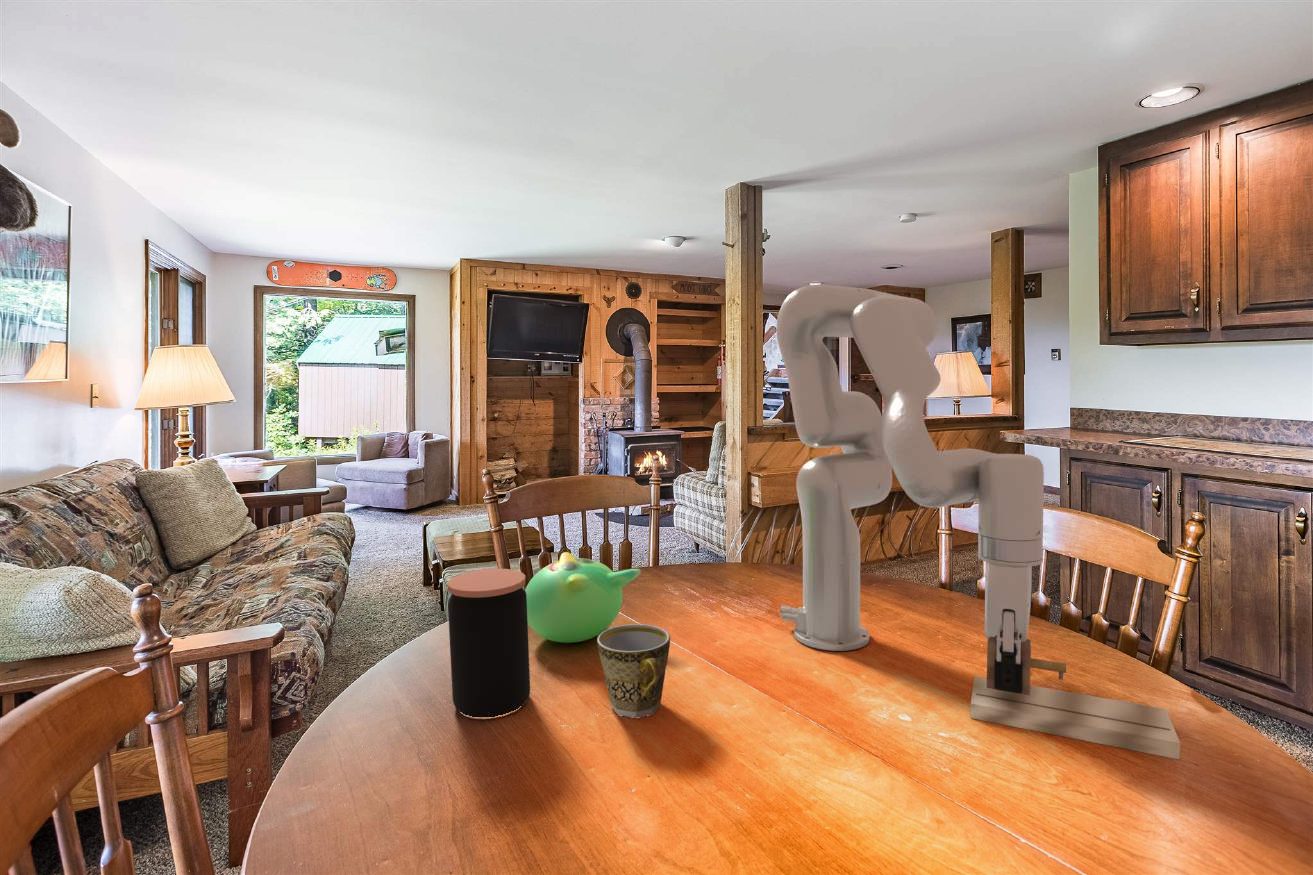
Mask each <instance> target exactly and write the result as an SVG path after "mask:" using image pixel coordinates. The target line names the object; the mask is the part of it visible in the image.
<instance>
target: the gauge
mask: <svg viewBox="0 0 1313 875" xmlns="http://www.w3.org/2000/svg"><path fill="white" fill-rule="evenodd" d="M1000 636H1001V635H1000ZM996 638H997V634H996V636H995V637H990V638H987V643H986V644H987V648H986V650H987V652H986V678H987V688H990V689H995V687H994V683H995V658H996V659H997V640H996ZM1014 638H1015V637H1014ZM1031 644H1032V643H1031V639H1029V638H1028V639H1026V641H1025V642H1023V643H1021V653H1020V662H1023V670H1022V693H1020V694H1024V695H1029V696H1030V685H1031V668H1032V669H1039V670H1043V671H1050V672H1055V673H1056V672H1057V673H1058V679H1059V680H1060V681H1062V680H1064V674H1067V663H1064V662H1059V661H1053V660H1052V661H1051V660H1047V659H1045V660H1044V659H1041V658H1034V657H1033V658H1032V657H1031V655H1032V654H1031V653H1032V646H1031ZM1001 645H1002V646H1003V642H1001ZM1014 647H1016V644H1014ZM995 690H997V689H995ZM1012 693H1013V692H1012ZM1018 694H1019V693H1018Z"/></svg>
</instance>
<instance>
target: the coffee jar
mask: <svg viewBox="0 0 1313 875" xmlns="http://www.w3.org/2000/svg"><path fill="white" fill-rule="evenodd" d="M526 576H527V575H525V574H524V573H523V572H521V571H519V570H516V569H509V568H486V569H485V568H484V569H478V570H472V571H467V572H465V573H460V574H458V575H455V576H454V577H451V578H450V579H449V580H448V581H447V584H446V587H447V591H448V592H449V594H451V595H450V596H449V598H448V600H447V612H448V614H447V616H448V617H447V618H448V632H449V633H448V634H449V635H448V636H449V651H450V652H449V653H450V670H451V671H450V672H451V676H450V677H451V692H452V696H451V697H452V702H453V705H454V707H455V709H456V710H457V711H458V710H459V711H460V712H462V713H463V714H465V715H469V716H472V717H495V716H498V715H503V714H506V713H509V712H511V711H514V710H516V709H518V708H519V707H520V706H522V705H523V704H524V703H525V701H526V702H527V700H528V699H529V696H530V694H531V679H530V678H531V675H530V674H531V672H530V670H531V669H530V650H529V649H530V646H529V624H528V620H527V595H526V591H525V589H524V586H525V585H526ZM525 704H526V703H525ZM525 704H524V705H525ZM524 705H523V706H524ZM523 706H522V707H523ZM459 711H458V712H459ZM460 712H459V713H460Z"/></svg>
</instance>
